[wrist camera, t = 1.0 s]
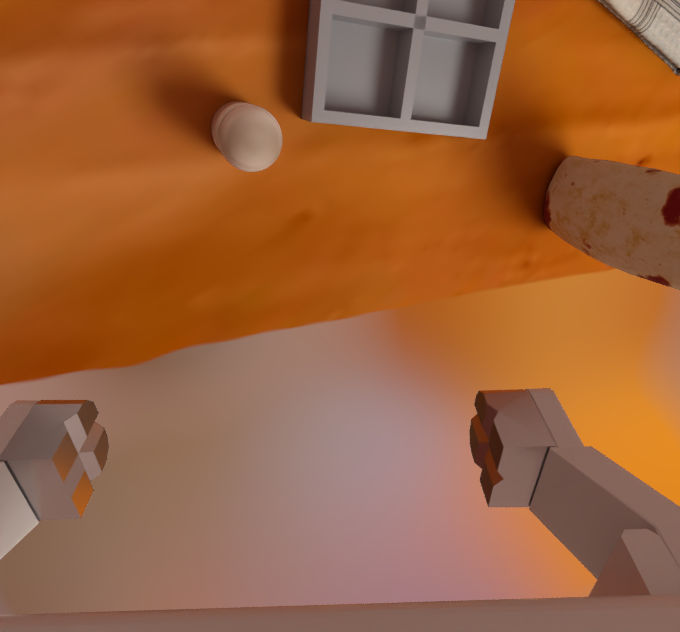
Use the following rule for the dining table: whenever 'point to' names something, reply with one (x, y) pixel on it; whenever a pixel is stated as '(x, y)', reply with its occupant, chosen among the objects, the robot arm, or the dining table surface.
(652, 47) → the dish towel
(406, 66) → the gray compartment tray
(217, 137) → the egg
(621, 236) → the food model
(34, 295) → the dining table surface
